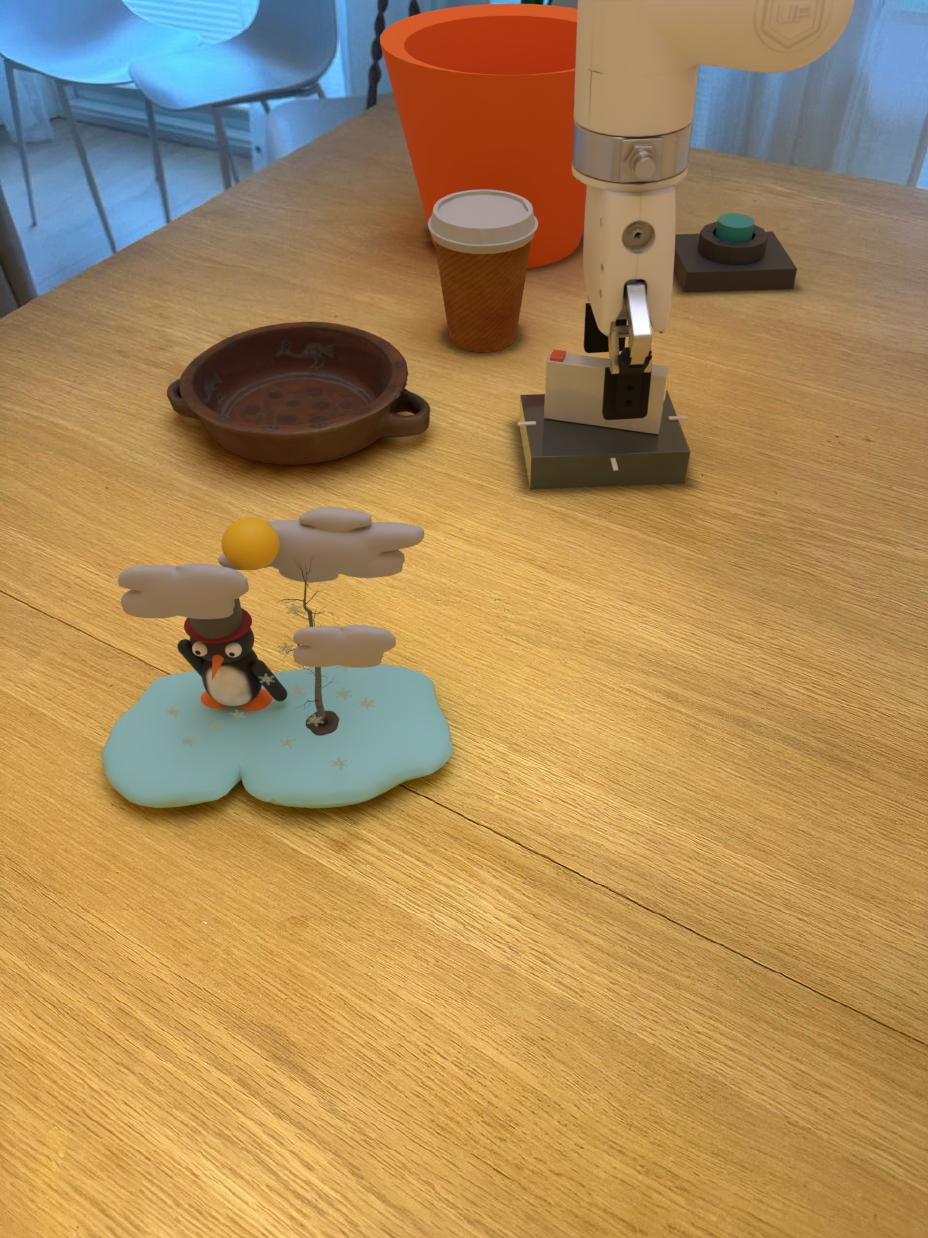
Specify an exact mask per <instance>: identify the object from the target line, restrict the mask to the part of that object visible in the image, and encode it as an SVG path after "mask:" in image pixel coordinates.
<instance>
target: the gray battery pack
mask: <svg viewBox="0 0 928 1238" xmlns="http://www.w3.org/2000/svg"><path fill="white" fill-rule="evenodd" d="M545 365H546V366H545V387H544V394H545V404H544V418H546V419H553V420H560V421H567V422H574V423H581V424H588V425H595V426H602V427H609V428H617V429H624V430H631V431H638V432H645V433H652V434H659V431H660V428H661V424H662V417H663V410H664V402H665V395H666V390H667V387H668V380H669V372H670V366H667V365H661V364H653V363H652V373H651V383H650V393H649V403H648V413H647V416H646V417H644V418H639V419H621V420H605V419H604V418H603V414H602V406H603V390H604V375H605V367H610V363H609V358H608V357H607V358H606V357H599V356H598V357H596V356H591V355H583V354H575V353H567V351H566V350H561V349H552V350H551V351H550V353H549V355H548V357H547V359H546V364H545Z"/></svg>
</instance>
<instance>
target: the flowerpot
mask: <svg viewBox="0 0 928 1238" xmlns="http://www.w3.org/2000/svg"><path fill="white" fill-rule="evenodd" d="M577 10H578V8H575V7H569V6H563V5H562V6H561V5H552V4H551V5H550V4H538V3H484V4H471V5H460V6H452V7H446V8H440V9H434V10H430V11H424V12H421V13H417V14H414V15H411V16H408V17H405V18H402V19H400V20H398V21H395V22H394V23H392V24H390V25H389V26H387V27H386V28H385V29H384V30H383V31H382V33H381V34H380V36H379V37H380V38H379V44H380V48H381V51H382V56H383V60H384V64H385V67H386V71H387V74H388V78H389V81H390V87H391V90H392V93H393V97H394V101H395V104H396V109H397V113H398V116H399V119H400V123H401V127H402V132H403V135H404V139H405V144H406V147H407V150H408V154H409V158H410V162H411V166H412V169H413V173H414V177H415V180H416V181H415V182H416V185H417V189H418V192H419V196H420V200H421V204H422V208H423V211H424V215H425V219H426V223H427V224H428V221H429V219H430V217H431V216H432V212H433V207H434V205H435V204H436V202H437V201H439V200H440V199H441V198H443V197H445V196H448V195H450V194H453V193H457V192H462V191H468V190H499V191H505V192H510V193H513V194H516V195H519V196H521V197H523V198H525V199H527V200H528V201H529V202H530V203H531V204H532V208H533V212H534V216H535V217H536V219H537V221H538V227H537V230H536V231H535V233H534V237H533V238H532V240H531V246H530V253H529V259H528V266H527V269H533V268H538V267H542V266H546V265H547V266H548V265H550V264H554V263H557V262H559V261H561V260H563V259H565V258H567V257H569V256H570V255H572V253H574V252H575V251H576V250H577V248H578V247H579V246H580V243H581V239H582V236H583V234H584V220H585V203H586V189H587V186H586V184H584V183H582V182H580V181H579V180H577V179H576V178H575V177H574V176H573V174H572V147H573V119H574V104H575V102H574V93H575V65H576V38H577ZM429 233H430V238H431V242H432V244H433V247H435V241H434V239H433V237H432V235H431V232H430V231H429Z"/></svg>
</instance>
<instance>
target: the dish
mask: <svg viewBox="0 0 928 1238" xmlns="http://www.w3.org/2000/svg"><path fill="white" fill-rule="evenodd" d="M408 377H409V368H408V364H407V360H406V358H405V357H404V355H403V354H402V353H401V351H400V350H399V349H397V348H396V347H395V346H394V345H393V344H392V343H391V342H389V341H387V340H386V339H384V338H382V337H380V336H378V335H376V334H374V333H372V332H369V331H367V330H363V329H360V328H357V327H353V326H349V325H344V324H340V323H334V322H328V321H295V322H294V321H293V322H282V323H281V322H280V323H277V324H269V325H264V326H259V327H256V328H252V329H247V330H244V331H242V332H238V333H235V334H233V335H231V336H228V337H226V338H224V339H222V340H220V341H218V342H216V343H215V344H213V345H211V346H210V347H208V348H207V349H205V350H204V351H203V352H201V353H200V354H198V355H197V356H196V357H194V359H193V360H191V362H190V363H189V364H188V365H187V366H186V368H185V369H184V370H183V372H182V374H181V375H180V377H179V378H177V379H176V380H174V381H173V382H171V383H170V384H169V386H167V389H166V397H167V399H168V401H169V403H170V406H171V407H172V410H173V411H174V412H175V413H177V414H178V415H180V416H183V417H186V418H191V419H195V420H197V421H198V420H199V421H200V422H201V423H202V424H203V427H204V428H205V429H206V431H207V432H208V434H209V435H210V437H212V439H214V441H215V442H216V443H217V444H219V445H220V446H221V447H222V448H223V449H225V450H226V451H229V452H231V453H233V454H234V455H237V456H240V457H242V458H244V459H247V460H251V461H255V462H258V463H259V462H261V463H268V464H275V465H289V466H290V465H308V464H315V463H316V464H317V463H321V462H327V461H328V462H329V461H333V460H337V459H341V458H345V457H347V456H351V455H352V454H354V453H357V452H360V451H361V450H363V449H366V448H367V447H369V446H370V445H372V444H374V443H375V442H377V441H378V440H379V439H381V438H403V437H413V436H417V435H421V434H423V433H424V432H426V431H427V430H428V429H429V426H430V421H431V420H430V419H431V406H430V404H429V403H428V401H427V400H426V399H424V398H423V397H422V396H420V395H419V394H416V393H415V392H412V391H410V390H408V389H407V388H406V387H407V385H408ZM399 413H410V414H408V415H403V414H402V415H401V414H399Z"/></svg>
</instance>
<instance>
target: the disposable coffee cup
mask: <svg viewBox="0 0 928 1238" xmlns="http://www.w3.org/2000/svg"><path fill="white" fill-rule="evenodd" d="M427 227H428V231H429V233H430V232H431V234H430V236H431V235H432V237H433V239H434V241H435V246H434V248H435V253H436V260H437V267H438V273H439V280H440V286H441V293H442V299H443V300H442V301H443V306H444V313H445V318H446V325H447V331H448V338H449V340H450V342H451V343H452V344H453V345H454V346H455V347H457V348H459V349H460V350H464V351H468V352H472V353H473V352H474V353H492V352H498V351H501V350H504V349H507V348H509V347H510V346H511V345H513V344H514V343H515V342H516V339H517V333H518V328H519V321H520V314H521V308H522V303H523V295H524V290H525V283H526V277H527V272H528V268H527V266H528V259H529V253H530V246H531V240H532V238H533V237H534V233H535V231H536V230H537V227H538V221H537V219H536V217H535V216H534V212H533V208H532V204H531V203H530V202H529V201H528V200H527V199H525V198H523V197H521V196H519V195H516V194H513V193H510V192H505V191H499V190H468V191H462V192H457V193H453V194H450V195H448V196H445V197H443V198H441V199H440V200H439V201H437V202H436V204H435V205H434V207H433V212H432V216H431V217H430V219H429V221H428V223H427Z"/></svg>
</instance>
